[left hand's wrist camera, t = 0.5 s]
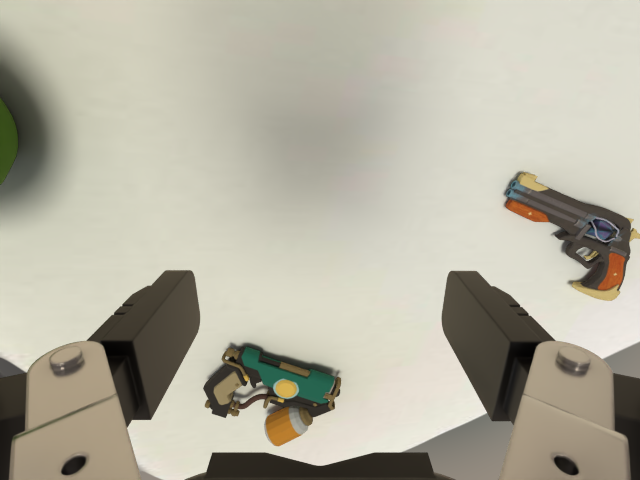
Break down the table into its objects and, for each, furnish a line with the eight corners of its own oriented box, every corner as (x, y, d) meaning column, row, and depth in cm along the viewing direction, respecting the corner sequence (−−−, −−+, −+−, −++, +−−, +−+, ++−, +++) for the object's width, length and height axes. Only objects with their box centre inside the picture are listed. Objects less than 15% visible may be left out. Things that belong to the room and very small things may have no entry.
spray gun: (196, 386, 50) (252, 312, 47) (290, 442, 53) (351, 377, 49) (184, 408, 46) (245, 330, 43) (287, 468, 49) (353, 399, 45)
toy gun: (615, 308, 42) (683, 241, 38) (474, 250, 41) (528, 173, 36) (601, 295, 45) (664, 230, 40) (468, 240, 43) (518, 166, 39)
